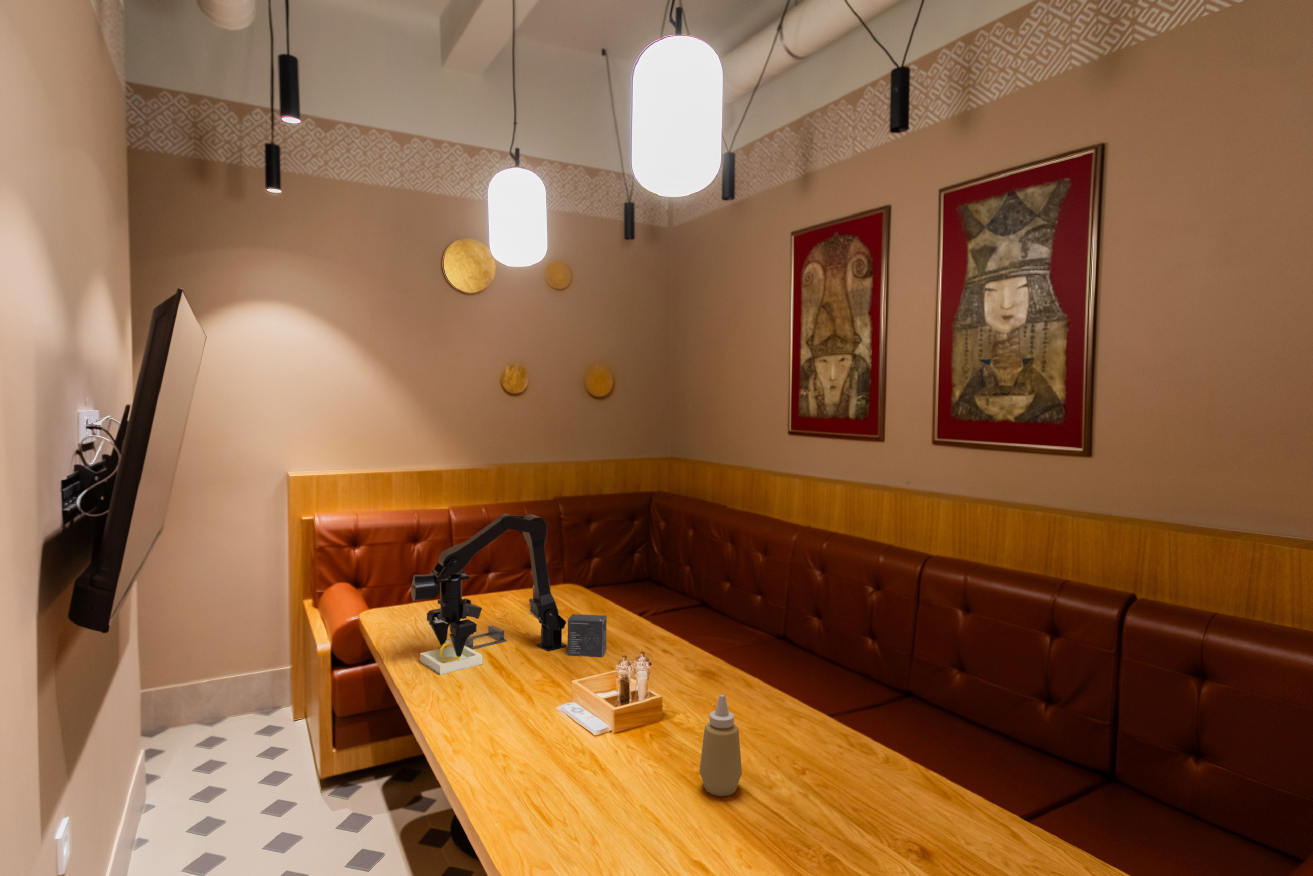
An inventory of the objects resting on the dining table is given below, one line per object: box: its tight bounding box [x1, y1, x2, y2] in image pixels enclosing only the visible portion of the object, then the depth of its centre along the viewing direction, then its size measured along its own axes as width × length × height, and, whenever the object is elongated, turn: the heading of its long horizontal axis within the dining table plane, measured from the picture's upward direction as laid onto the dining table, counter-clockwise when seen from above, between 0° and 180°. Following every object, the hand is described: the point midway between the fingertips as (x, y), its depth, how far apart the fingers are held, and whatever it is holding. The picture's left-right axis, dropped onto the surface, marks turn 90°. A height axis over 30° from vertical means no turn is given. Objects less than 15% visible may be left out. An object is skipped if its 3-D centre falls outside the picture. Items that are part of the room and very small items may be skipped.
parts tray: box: [419, 645, 483, 676], centre depth 199 cm, size 12×12×2 cm
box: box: [566, 613, 608, 658], centre depth 209 cm, size 11×7×10 cm, turn 84°
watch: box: [439, 638, 462, 662], centre depth 199 cm, size 6×3×6 cm, turn 121°
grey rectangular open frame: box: [465, 624, 507, 650], centre depth 217 cm, size 9×12×3 cm
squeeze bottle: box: [699, 694, 743, 797], centre depth 136 cm, size 8×8×18 cm
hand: (451, 652), depth 199 cm, fingers open, 9 cm apart
